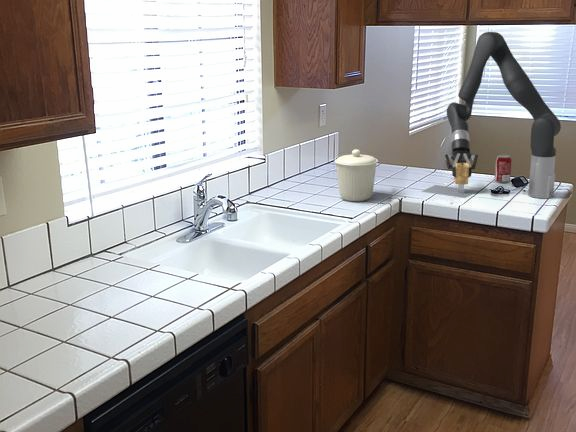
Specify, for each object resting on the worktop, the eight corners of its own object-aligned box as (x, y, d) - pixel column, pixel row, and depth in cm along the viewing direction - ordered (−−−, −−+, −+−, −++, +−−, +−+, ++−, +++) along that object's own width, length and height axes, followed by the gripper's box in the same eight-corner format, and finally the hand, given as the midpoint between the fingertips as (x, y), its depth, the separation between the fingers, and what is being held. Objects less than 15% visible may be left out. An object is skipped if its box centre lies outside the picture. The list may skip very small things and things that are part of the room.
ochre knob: (466, 181, 269) (467, 162, 267) (467, 184, 264) (469, 164, 262) (454, 181, 270) (455, 162, 267) (455, 184, 265) (456, 164, 263)
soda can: (511, 183, 288) (513, 157, 284) (496, 183, 288) (498, 157, 284) (507, 179, 294) (509, 154, 291) (492, 180, 294) (494, 154, 291)
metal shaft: (463, 192, 269) (463, 180, 267) (463, 193, 267) (464, 181, 266) (458, 192, 269) (458, 180, 268) (458, 193, 268) (459, 181, 266)
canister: (363, 206, 257) (363, 155, 251) (326, 200, 268) (325, 151, 262) (385, 196, 271) (386, 147, 265) (349, 191, 282) (349, 144, 276)
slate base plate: (478, 194, 271) (478, 190, 270) (465, 201, 260) (465, 197, 260) (435, 188, 283) (435, 184, 283) (420, 194, 272) (420, 191, 272)
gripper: (444, 137, 270) (445, 171, 262) (479, 137, 268) (481, 172, 260) (442, 147, 277) (443, 181, 269) (476, 147, 275) (478, 181, 267)
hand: (462, 176), depth 264 cm, fingers closed on ochre knob, 5 cm apart
